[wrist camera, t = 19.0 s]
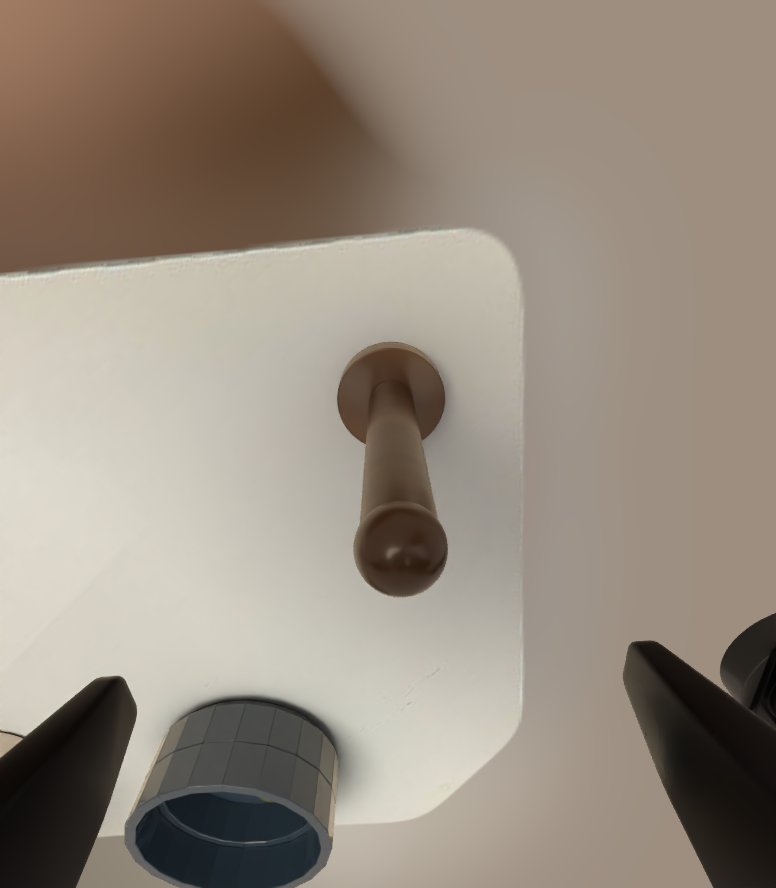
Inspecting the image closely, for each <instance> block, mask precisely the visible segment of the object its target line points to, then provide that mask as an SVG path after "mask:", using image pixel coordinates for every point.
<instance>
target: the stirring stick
mask: <svg viewBox="0 0 776 888" xmlns="http://www.w3.org/2000/svg"><path fill="white" fill-rule="evenodd" d="M337 403H338V410H339V413H340V417H341V419H342V421H343V423H344V425H345V426H346V428H347V429H348V430H349V431H350V433H351V434H352V435H353V436H354V437H356V438H357V439H358V440H360V441H361V442H363V443H365V444H366V449H365V463H364V476H363V490H362V503H361V516H360V525H359V527H358V529H357V532H356V535H355V539H354V558H355V563H356V566H357V568H358V570H359V572H360V574H361V576H362V577H363V578H364V580H365V581H366V582H367V583H368V584H369V585H370V586H371V587H372V588H374V589H375V590H377V591H378V592H380V593H382V594H385V595H388V596H392V597H410V596H414V595H417V594H419V593H422V592H424V591H425V590H427V589H428V588H430V587H431V586H432V585H433V584H434V583H435V582H436V581H437V580H438V578H439V577H440V575H441V573H442V572H443V570H444V567H445V564H446V561H447V555H448V544H447V538H446V534H445V531H444V529H443V527H442V525H441V524H440V522H439V520H438V517H437V512H436V507H435V503H434V498H433V493H432V488H431V483H430V478H429V473H428V469H427V464H426V459H425V454H424V449H423V444H422V440H423V439H425V438H426V437H427V436H428V435H429V434H430V433H431V432H432V431H433V430H434V429H435V427H436V426H437V424H438V423H439V421H440V419H441V416H442V413H443V410H444V404H445V393H444V387H443V384H442V381H441V378H440V376H439V374H438V371H437V369H436V368H435V366H434V364H433V363H432V362H431V360H430V359H429V358H428V357H427V356H426V355H425V354H424V353H422V352H421V351H420V350H418V349H416V348H414V347H412V346H410V345H407V344H403V343H398V342H384V343H379V344H375V345H372V346H370V347H367V348H366V349H364V350H362V351H361V352H359V353H358V354H357V355H356V356H355V357H354V358H353V359H352V360H351V361H350V362H349V364H348V365H347V367H346V368H345V370H344V373H343V375H342V378H341V381H340V385H339V389H338V396H337Z"/></svg>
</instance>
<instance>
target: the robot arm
mask: <svg viewBox="0 0 776 888" xmlns="http://www.w3.org/2000/svg"><path fill="white" fill-rule="evenodd" d="M623 681H624V685H625V689H626V691H627V694H628V697H629V699H630V702H631V704H632V707H633V710H634V712H635V714H636V717H637V720H638V722H639V725H640V727H641V730H642V732H643V735H644V738H645V741H646V743H647V746H648V748H649V751H650V753H651V756H652V759H653V761H654V763H655V766H656V769H657V771H658V774H659V776H660V779H661V781H662V783H663V786H664V788H665V790H666V792H667V794H668V797H669V799H670V801H671V803H672V805H673V807H674V809H675V811H676V813H677V815H678V817H679V819H680V821H681V823H682V825H683V827H684V829H685V831H686V833H687V835H688V837H689V839H690V841H691V843H692V845H693V847H694V850H695V851H696V854H697V856H698V858H699V860H700V862H701V864H702V866H703V868H704V870H705V872H706V874H707V876H708V878H709V880H710V882H711V884H712V886H713V887H714V888H776V647H775V648H774V649H772V651H771V653H770V655H769V658H768V661H767V663H766V666H765V669H764V671H763V674H762V676H761V679H760V682H759V684H758V687H757V690H756V692H755V695H754V697H753V700H752V703H751V705H750V708H749V709H748V708H747V707H745V706H744V705H743V704H741V703H740V702H738V701H737V700H736V699H734V698H733V697H732V696H730V695H729V694H728V693H726V692H725V691H723V690H722V689H721V688H719V687H718V686H717V685H715V684H714V683H713V682H711V681H710V680H709V679H707V678H706V677H704V676H703V675H702V674H700V673H699V672H697V671H696V670H695V669H694V668H692V667H691V666H689V665H688V664H687V663H685V662H684V661H683V660H681V659H680V658H679V657H677V656H676V655H675V654H673V653H672V652H671V651H669V650H668V649H666V648H665V647H664V646H662V645H661V644H659V643H658V642H655V641H636V642H632V643H631V644H630V645H629V647H628V651H627V656H626V661H625V666H624V671H623ZM136 717H137V706H136V703H135V701H134V699H133V696H132V694H131V692H130V690H129V688H128V685H127V683H126V681H125V679H124V678H122V677H121V676H109V677H100V678H97V679H95V680H94V681H92V682H91V683H90V684H88V685H87V686H86V687H85V688H84V689H82V690H81V691H80V692H79V693H78V694H76V695H75V696H74V697H73V698H72V699H70V700H69V701H68V702H67V703H66V704H64V705H63V706H62V707H61V708H59V709H58V710H57V711H56V712H55V713H53V714H52V715H51V716H50V717H49V718H47V719H46V720H45V721H44V722H43V723H41V724H40V725H39V726H38V727H37V728H35V729H34V730H33V731H32V732H31V733H29V734H28V735H27V736H26V737H25V738H23V739H22V740H21V741H20V742H19V743H17V744H16V745H15V746H14V747H13V748H11V749H10V750H9V751H8V752H7V753H5V754H4V755H3V756H2V757H1V758H0V888H76V886H77V883H78V881H79V879H80V876H81V874H82V871H83V869H84V867H85V864H86V862H87V859H88V857H89V854H90V852H91V850H92V847H93V845H94V842H95V840H96V838H97V835H98V833H99V830H100V828H101V825H102V822H103V820H104V817H105V814H106V811H107V808H108V806H109V803H110V800H111V796H112V793H113V790H114V787H115V784H116V781H117V778H118V775H119V771H120V768H121V765H122V762H123V759H124V756H125V753H126V750H127V746H128V743H129V740H130V737H131V734H132V731H133V728H134V725H135V721H136Z"/></svg>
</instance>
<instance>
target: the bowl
mask: <svg viewBox="0 0 776 888" xmlns="http://www.w3.org/2000/svg"><path fill="white" fill-rule="evenodd" d="M338 768H339V767H338V761H337V756H336V751H335V748H334V747H333V745H332V744H331V743H330V741H329V740H328V738H327V737H326V736H325V734H324V733H322V731H321V730H320V729H319V728H318V727H317V726H316V725H315V724H314V723H313V722H311V721H310V720H309V719H308V718H306V717H304V716H303V715H301V714H299V713H297V712H295V711H293V710H291V709H288V708H285V707H282V706H280V705H275V704H271V703H266V702H260V701H248V700H244V701H228V702H222V703H217V704H214V705H210V706H207V707H205V708H202V709H200V710H198V711H196V712H193V713H191V714H189V715H187V716H186V717H185V718H183V719H182V720H180V721H179V722H177V723H176V724H174V725H173V726H172V727H171V728H170V729H169V731H168V732H167V734H166V735H165V737H164V739H163V740H162V742H161V744H160V746H159V748H158V750H157V753H156V755H155V757H154V760H153V762H152V764H151V766H150V769H149V771H148V773H147V775H146V778H145V780H144V782H143V785H142V787H141V789H140V791H139V794H138V796H137V798H136V800H135V803H134V805H133V807H132V810H131V812H130V814H129V816H128V819H127V821H126V823H125V845H126V847H127V848H128V850H129V852H130V854H131V855H132V857H133V859H134V860H135V861H136V862H137V863H138V864H139V865H140V866H142V867H143V868H144V869H145V870H147V871H148V872H149V873H150V874H151V875H153V876H155V877H157V878H160V879H162V880H164V881H166V882H168V883H170V884H172V885H174V886H178V887H180V888H295V887H297V886H299V885H301V884H303V883H305V882H307V881H309V880H311V879H312V878H313V877H314V876H315V875H316V874H318V873H319V872H320V870H322V869H323V868H324V867H325V866H326V864H327V861H328V858H329V855H330V852H331V850H332V842H333V829H334V817H335V804H336V793H337V780H338ZM259 797H260V798H263V799H266V800H269V801H272V802H268V801H264V800H262V799H260V798H259Z"/></svg>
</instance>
